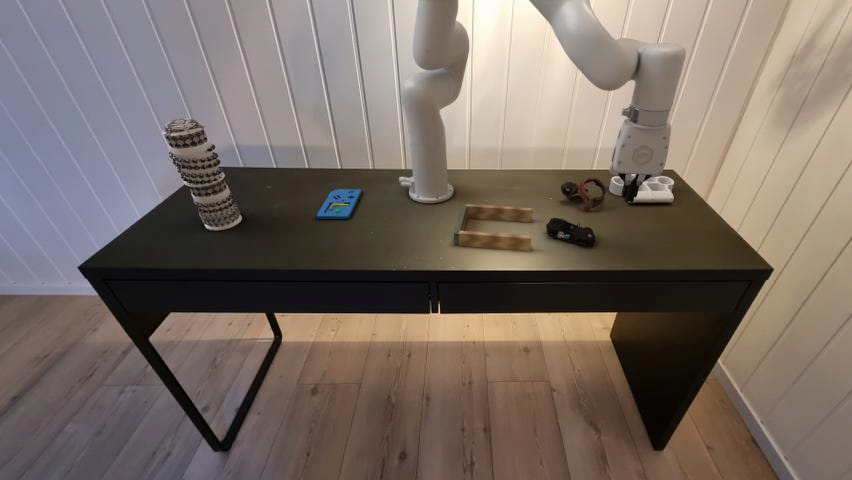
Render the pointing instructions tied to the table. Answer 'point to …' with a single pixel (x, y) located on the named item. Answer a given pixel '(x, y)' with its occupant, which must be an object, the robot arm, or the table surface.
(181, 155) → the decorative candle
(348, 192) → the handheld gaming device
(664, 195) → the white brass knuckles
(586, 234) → the toy car
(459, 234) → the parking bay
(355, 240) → the table surface
